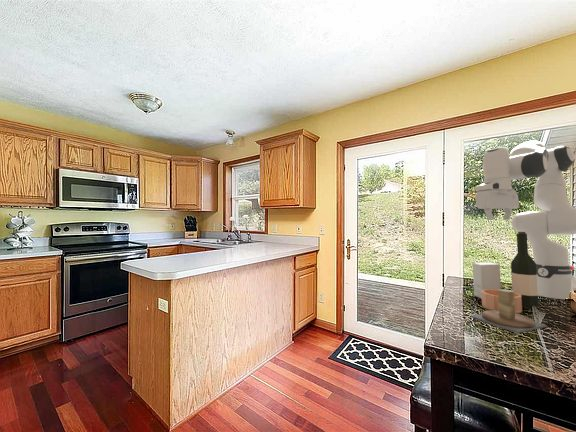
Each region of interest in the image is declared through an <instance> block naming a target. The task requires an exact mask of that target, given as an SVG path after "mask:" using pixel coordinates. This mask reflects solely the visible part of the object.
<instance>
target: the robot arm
mask: <svg viewBox="0 0 576 432" xmlns="http://www.w3.org/2000/svg"><path fill="white" fill-rule="evenodd" d="M482 159H483V160H482V171H483V175H484V177H483V183H480V184H478V185H476V186H475V187H474V189H475V191H476V193H475V204H476V207H477V209H478V210H479V209H481V210H483V211H484V213H485V215H486V219H487V220H488V221H494V220H495V215H493V213H492V212H493V210H503V211H504V214H503V215H502V217H503V218H502V220H503V221H504V220H505V221H508V220H511V227H512V228H513V229H514V231H515V232H517V233H518V232H525V233H526V234H527V242H528V243H529V244H530V245H531V247H532V253H533V260H534V262H535V263H536V271H537V289H538V297H544V298H548V299H555V300H565V299H566V298H568V297H569V294H570V291H572V290H576V277H575V276H574V275H573V272H572V271H574V270H575V266H574V265H569V264H570V263H569V250H568V248H567V247H566V246H565V245H564V244H561V243H559V242H556V241H553V240H551V239H549V238H548V236H549V235H562V236H563V235H565V236H566V235H567V236H568V235H569V236H570V235H571V236H572V235H576V207H574V206H572V205H571V204H570V203H569V202H568V196H567V183H566V179H565V177H564V175H563V174H562V172H568V170H569V168H570V167H572V165H573V164H574V162H575V153H574V151H573V150H572V149H571V148H570V147H569V146H566V145H560V146H555V147H554V148H550V149H547V148H546V146H545V144H544V143H543V142H541V141H538V140H529V141H525V142H523V143H520V144H519V145H517V146H515V147H514V148H513V149H512V150H511V152H510V153H509V149H508V147H507V146H506V147H505V146H500V147H496V148H491V149H488V150H486V151H485V152H484V154H483V158H482ZM528 178H537V179H536V182H535V185H534V191H533V203H534V205H535V207H537V208H538V209H540V210H535V211H525V212H524V211H523V212H519V213H516V214H515V215H513V218H511V215H512V213H513V210H515V209H517V210H518V208H519V207H520V201H519V196H518V192H517V191H516V189H515V188H514V187H512V180H520V179H528ZM475 191H474V192H475Z"/></svg>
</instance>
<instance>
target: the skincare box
mask: <svg viewBox="0 0 576 432" xmlns="http://www.w3.org/2000/svg"><path fill="white" fill-rule="evenodd" d="M500 268H501V265H500V263H495V262H489V261H487V262H472V276H473V277H472V278H473V279H472V280H473V296H474V297H477V298H479V299H481V300H482V295H481V291H482V290H485V289H496V290H502V286H501V285H502V283H501V269H500Z"/></svg>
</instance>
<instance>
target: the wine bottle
mask: <svg viewBox="0 0 576 432" xmlns="http://www.w3.org/2000/svg"><path fill="white" fill-rule="evenodd" d="M516 246H517V247H516V248H517V249H516V250H517V253H516V255H515V256H514V258H513V259H512V261H511V262H510V268H511V269H510V270H511V271H510V272H511V291H514V292H515V293H518V294H520V295H521V299H522V306H527V307H539V296H538V289H537V271H536V263H535V262H534V258H532V256H531V255H530V254H529V250H528V249H529V246H528V240H527V234H526V233H525V232H517V233H516Z"/></svg>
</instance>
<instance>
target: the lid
mask: <svg viewBox="0 0 576 432" xmlns="http://www.w3.org/2000/svg"><path fill="white" fill-rule="evenodd" d="M498 298H499V311H494V310H483V312H482V313H481V314H482V317H483V318H484V319H486V320H488V321H490V322H493V323H496V324H499V325H503V326H508V327H515V328H532V327H535V322H536V321H535V320H534V319H533V318H530V317H528V316H525V315H522V314H521V313H519V314H516V313H515V302H514V291H512V290H509V289H505V288H504V289H501V290H498Z"/></svg>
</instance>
